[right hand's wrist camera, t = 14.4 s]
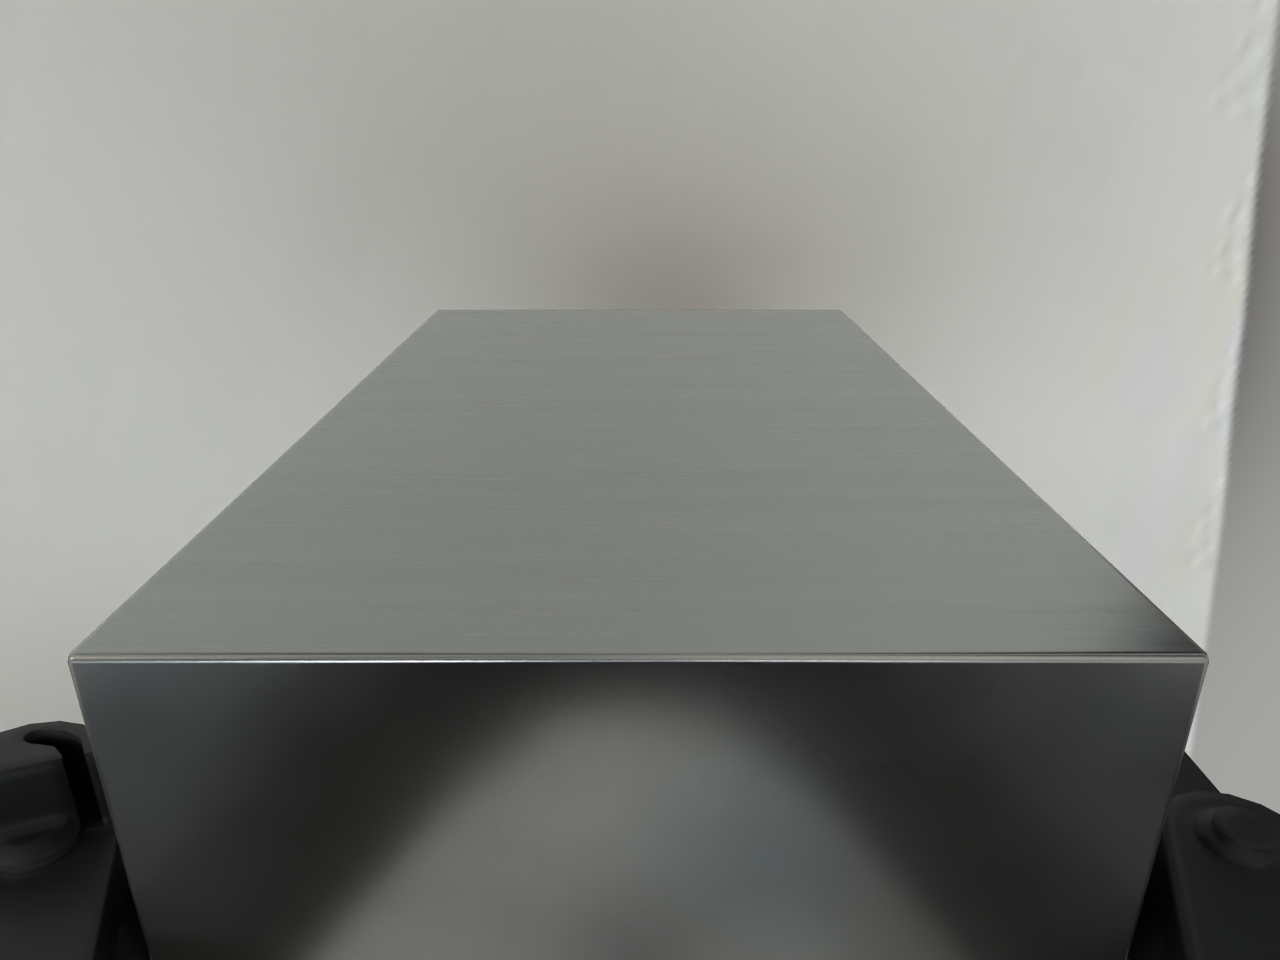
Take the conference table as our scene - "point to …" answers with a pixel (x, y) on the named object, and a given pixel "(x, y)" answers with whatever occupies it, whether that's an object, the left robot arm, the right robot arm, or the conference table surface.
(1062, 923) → the metal block
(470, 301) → the conference table surface
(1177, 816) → the right robot arm
